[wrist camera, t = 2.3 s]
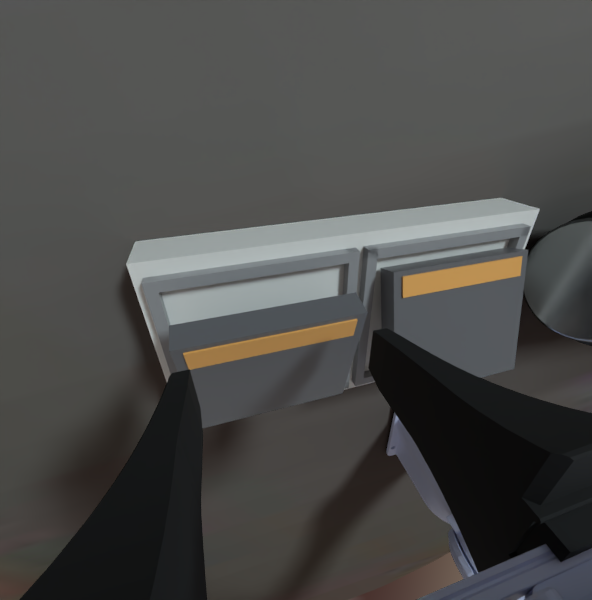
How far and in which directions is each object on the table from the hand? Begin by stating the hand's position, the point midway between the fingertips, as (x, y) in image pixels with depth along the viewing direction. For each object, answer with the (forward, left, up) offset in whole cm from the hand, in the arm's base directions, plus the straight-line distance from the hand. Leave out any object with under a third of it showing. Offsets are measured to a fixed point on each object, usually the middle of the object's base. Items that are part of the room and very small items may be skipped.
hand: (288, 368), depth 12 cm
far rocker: (-3, -12, -5) cm, 13 cm away
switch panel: (-3, -6, -9) cm, 11 cm away
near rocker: (-3, 0, -5) cm, 6 cm away
